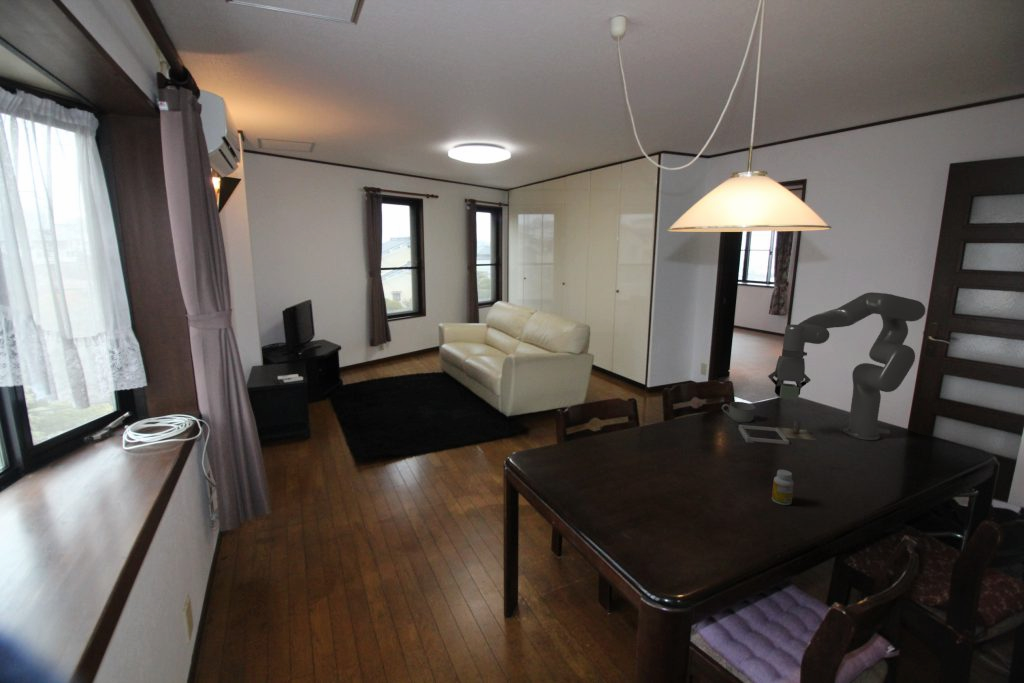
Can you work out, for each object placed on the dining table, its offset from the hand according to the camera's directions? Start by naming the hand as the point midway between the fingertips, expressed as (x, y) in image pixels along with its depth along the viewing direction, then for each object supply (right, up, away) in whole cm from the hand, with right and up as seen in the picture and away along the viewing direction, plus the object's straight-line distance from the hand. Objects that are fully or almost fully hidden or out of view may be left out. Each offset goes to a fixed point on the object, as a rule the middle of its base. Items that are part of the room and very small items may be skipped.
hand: (786, 395), depth 191 cm
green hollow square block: (0, -1, 0) cm, 1 cm away
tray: (-9, -18, +2) cm, 21 cm away
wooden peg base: (+6, -18, +4) cm, 19 cm away
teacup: (-10, -15, +23) cm, 29 cm away
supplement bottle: (-32, -28, -49) cm, 65 cm away
